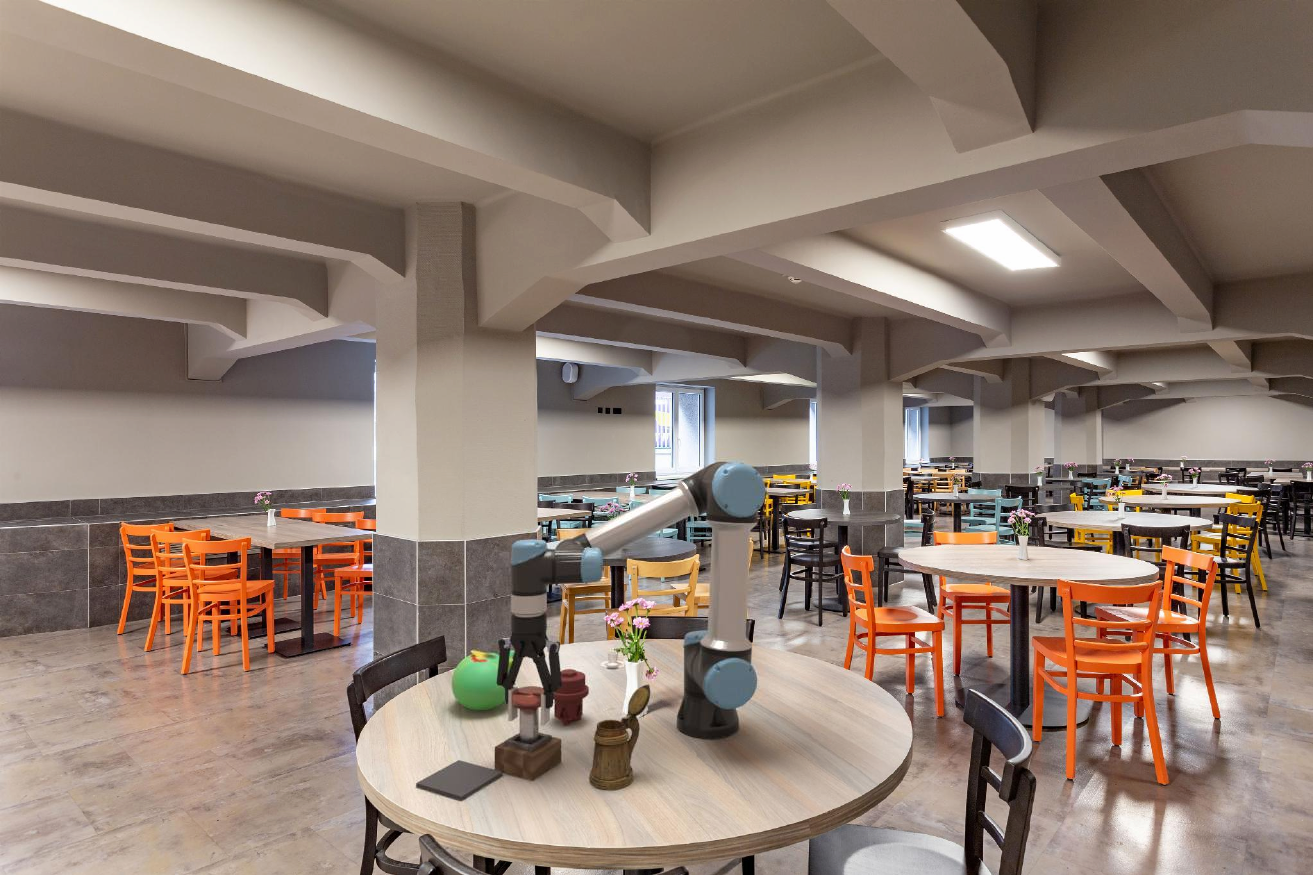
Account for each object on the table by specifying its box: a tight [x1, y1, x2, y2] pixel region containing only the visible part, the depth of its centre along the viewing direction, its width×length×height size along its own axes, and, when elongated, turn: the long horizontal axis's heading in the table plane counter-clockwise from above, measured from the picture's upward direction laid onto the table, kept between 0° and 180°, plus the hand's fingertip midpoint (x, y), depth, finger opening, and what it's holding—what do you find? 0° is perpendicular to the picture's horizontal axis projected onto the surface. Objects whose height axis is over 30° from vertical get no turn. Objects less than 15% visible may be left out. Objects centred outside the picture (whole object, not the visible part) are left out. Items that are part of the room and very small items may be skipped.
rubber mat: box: [415, 759, 504, 802], centre depth 146 cm, size 12×12×1 cm
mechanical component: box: [553, 668, 590, 727], centre depth 179 cm, size 12×10×10 cm
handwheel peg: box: [512, 685, 544, 745], centre depth 153 cm, size 7×7×16 cm
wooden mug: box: [588, 684, 651, 791], centre depth 149 cm, size 9×14×18 cm, turn 120°
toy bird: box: [451, 649, 515, 711], centre depth 189 cm, size 18×17×15 cm
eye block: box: [493, 732, 562, 782], centre depth 153 cm, size 10×10×6 cm
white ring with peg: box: [600, 650, 625, 669], centre depth 225 cm, size 9×8×4 cm
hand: (529, 720), depth 154 cm, fingers closed on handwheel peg, 7 cm apart
